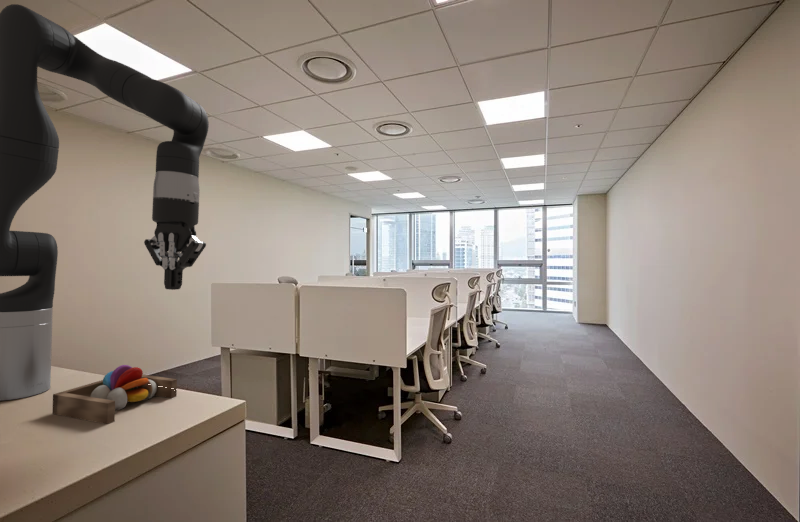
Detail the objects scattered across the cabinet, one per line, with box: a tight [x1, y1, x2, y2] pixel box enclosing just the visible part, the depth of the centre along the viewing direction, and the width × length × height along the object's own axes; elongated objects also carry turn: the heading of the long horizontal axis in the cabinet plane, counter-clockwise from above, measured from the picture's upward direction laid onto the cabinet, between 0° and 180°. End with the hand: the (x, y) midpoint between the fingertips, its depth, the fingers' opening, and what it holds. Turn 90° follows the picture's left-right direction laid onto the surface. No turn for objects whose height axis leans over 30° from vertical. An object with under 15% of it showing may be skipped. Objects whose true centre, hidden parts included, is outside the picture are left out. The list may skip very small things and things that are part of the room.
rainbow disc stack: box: [90, 364, 157, 411], centre depth 71 cm, size 8×10×7 cm
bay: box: [51, 374, 178, 425], centre depth 69 cm, size 13×14×4 cm
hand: (173, 289), depth 69 cm, fingers closed
